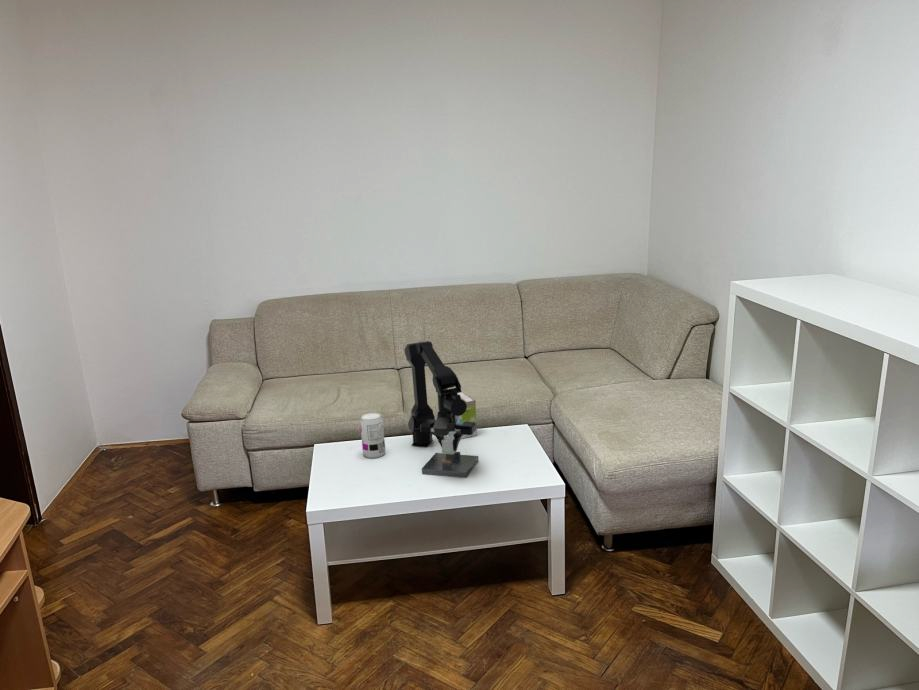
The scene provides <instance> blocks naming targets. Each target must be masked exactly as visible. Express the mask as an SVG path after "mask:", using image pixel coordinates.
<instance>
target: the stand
mask: <svg viewBox="0 0 919 690" xmlns="http://www.w3.org/2000/svg"><path fill="white" fill-rule="evenodd" d="M479 461H480V460H479V455H470V454H468V455H467V454H461V451H456V452H455V453H454V454H442V453H441V452H435V453H434V454H433V455H432V456H431V457H430V458H429V460H428V461H427V462H426V463H425V464H424V466H423V467H422V468H421V473H422V475H429V476H438V477H439V476H441V477H442V476H443V477H453V478H465V479H466V478H468V476H469V475H470V473H472V471H473V470H474V468H476V465H477V464H478V463H479Z"/></svg>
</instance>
